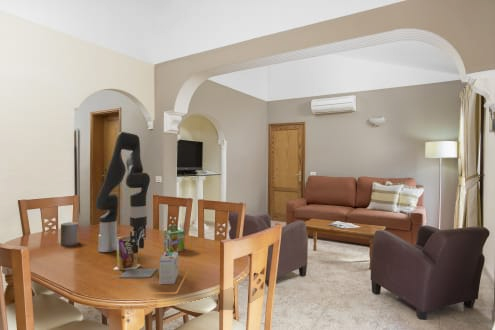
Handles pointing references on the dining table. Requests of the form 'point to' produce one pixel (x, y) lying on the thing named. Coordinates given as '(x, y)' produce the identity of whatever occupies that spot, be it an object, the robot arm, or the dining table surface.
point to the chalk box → (174, 240)
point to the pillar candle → (69, 233)
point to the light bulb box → (168, 268)
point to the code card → (128, 268)
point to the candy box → (125, 253)
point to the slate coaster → (138, 273)
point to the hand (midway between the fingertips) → (138, 250)
